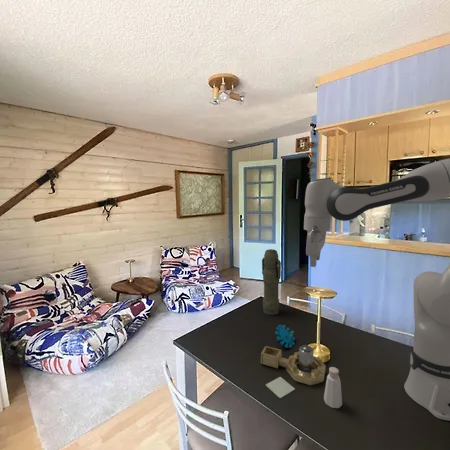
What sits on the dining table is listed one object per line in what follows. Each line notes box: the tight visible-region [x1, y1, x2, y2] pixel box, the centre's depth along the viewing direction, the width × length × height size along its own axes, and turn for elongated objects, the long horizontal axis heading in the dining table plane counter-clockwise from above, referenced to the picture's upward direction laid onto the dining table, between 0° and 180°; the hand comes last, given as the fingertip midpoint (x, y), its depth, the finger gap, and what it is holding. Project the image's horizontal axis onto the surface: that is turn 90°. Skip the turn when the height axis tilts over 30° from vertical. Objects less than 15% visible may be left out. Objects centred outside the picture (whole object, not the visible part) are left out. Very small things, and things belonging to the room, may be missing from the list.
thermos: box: [261, 248, 282, 316], centre depth 141 cm, size 9×12×35 cm
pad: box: [265, 376, 296, 399], centre depth 87 cm, size 7×7×1 cm
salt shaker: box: [323, 366, 343, 409], centre depth 80 cm, size 5×5×11 cm
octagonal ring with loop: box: [260, 345, 327, 386], centre depth 96 cm, size 23×13×4 cm, turn 63°
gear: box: [275, 324, 296, 349], centre depth 113 cm, size 11×6×10 cm
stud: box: [297, 344, 314, 373], centre depth 93 cm, size 7×7×10 cm
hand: (315, 263), depth 92 cm, fingers open, 8 cm apart
